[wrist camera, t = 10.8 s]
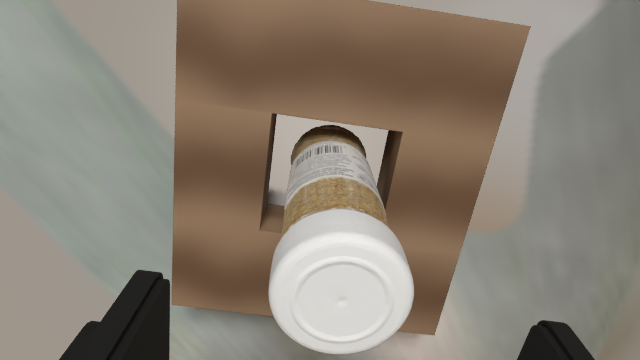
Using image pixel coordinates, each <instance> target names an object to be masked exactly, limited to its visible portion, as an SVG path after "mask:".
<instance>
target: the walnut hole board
mask: <svg viewBox="0 0 640 360" xmlns="http://www.w3.org/2000/svg"><path fill="white" fill-rule="evenodd" d="M529 30H530V26H525V25H519V24H513V23H506V22H500V21H494V20H488V19H481V18H475V17H469V16H462V15H457V14H450V13H444V12H438V11H432V10H425V9H419V8H413V7H406V6H400V5H394V4H388V3H381V2H375V1H369V0H177V43H176V97H175V98H176V99H175V151H174V205H173V259H172V305H179V306H187V307H196V308H205V309H213V310H222V311H230V312H239V313H248V314H256V315H265V316H273V314H272V311H271V308H270V303H269V294H268V292H269V280H270V272H271V265H272V260H273V255H274V252H275V249H276V247H277V245H278V243H279V242H280V240H281V234H282V227H283V218H284V211H285V210H284V208H285V206H280V205H272V204H267V198H268V189H269V180H270V170H271V162H272V152H273V143H274V133H275V125H276V116H277V114H282V115H289V116H296V117H302V118H310V119H316V120H324V121H331V122H338V123H345V124H351V125H358V126H365V127H372V128H379V129H386V130H389V131H388V136H387V141H386V145H385V150H384V155H383V159H382V164H381V169H380V174H379V178H378V183H377V189H378V192H379V195H380V198H381V200H382V203H383V206H384V209H385V212H386V219H387V223H388V225H389V227H390V230H391V231H392V232H393V233H394V234H395V235H396V237H397V239H398V240H399V242H400V244H401V246H402V248H403V250H404V253H405V256H406V259H407V262H408V265H409V268H410V271H411V274H412V278H413V283H414V298H413V303H412V308H411V310H410V312H409V315H408V317H407V318H406V320H405V322H404V323H403V325H402V326H401V327H400V328H399V329H398V330H397V331H403V332H411V333H420V334H428V335H435V332H436V328H437V325H438V322H439V319H440V315H441V312H442V309H443V306H444V303H445V299H446V296H447V293H448V290H449V287H450V283H451V280H452V277H453V274H454V271H455V267H456V264H457V261H458V258H459V255H460V251H461V248H462V245H463V242H464V238H465V235H466V232H467V229H468V226H469V222H470V219H471V216H472V213H473V209H474V206H475V203H476V200H477V197H478V193H479V190H480V187H481V184H482V181H483V178H484V174H485V171H486V168H487V164H488V161H489V158H490V155H491V152H492V149H493V145H494V142H495V139H496V136H497V133H498V129H499V126H500V123H501V120H502V117H503V113H504V110H505V107H506V104H507V101H508V97H509V94H510V91H511V88H512V85H513V81H514V78H515V75H516V72H517V68H518V65H519V62H520V59H521V56H522V52H523V49H524V46H525V43H526V40H527V36H528V33H529ZM273 317H274V316H273Z"/></svg>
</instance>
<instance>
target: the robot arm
mask: <svg viewBox="0 0 640 360" xmlns="http://www.w3.org/2000/svg"><path fill="white" fill-rule="evenodd" d="M169 327H170V282H169V280H167V279H163V275H162V273H160V272H152V271H144V270H138V271H136V272H135V274H134V275H133V276H132V278H131V279H130V281H129V282H128V283H127V285H126V286H125V288H124V289H123V291H122V292H121V293H120V295H119V296H118V298H117V299H116V300H115V302H114V303H113V305H112V306H111V308H110V309H109V310H108V312H107V313H106V315H105V316H104V317H103V319H102V321H101V322H96V321H91V322H89V323H87V324H86V325H85V326H84V327H83V328H82V330H81V331H80V332H79V334H78V335H77V336H76V338H75V339H74V340H73V342H72V343H71V344H70V346H69V347H68V349H67V350H66V351H65V352H64V354H63V355H62V356H61V358H60V359H59V360H169ZM517 360H595V359H594V358H593V357H592V355H591V354H590V353H589V352H588V350H587V349H586V348H585V346H584V345H583V344H582V342H581V341H580V340H579V338H578V337H577V336H576V334H575V333H574V332H573V331H572V329H571V328H570V327H569V326H568V325H567V324H565V323H561V322H553V321H545V320H543V321H540V322H538V324H537V325H534V326H532V328H531V329H530V331H529V334H528V336H527V338H526V340H525V343H524V345H523V347H522V350H521V352H520V354H519V356H518V359H517Z"/></svg>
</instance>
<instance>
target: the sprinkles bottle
mask: <svg viewBox="0 0 640 360" xmlns="http://www.w3.org/2000/svg"><path fill="white" fill-rule="evenodd" d="M291 165H292V166H291V172H290V177H289V183H288V188H287V195H286V201H285V208H284V210H285V211H284V218H283V227H282V234H281V240H280V242H279V243H278V245H277V247H276V249H275V252H274V255H273V260H272V265H271V272H270V280H269V292H268V294H269V303H270V308H271V311H272V314H273V316H274V318H275V320H276V322H277V323H278V325H279V326H280V328H281V329H282V330H283V331H284V332H285V333H286V334H287V335H288V336H289V337H290V338H291V339H293V340H294V341H296V342H297V343H299V344H301V345H302V346H305V347H307V348H309V349H312V350H315V351H318V352H323V353H327V354H351V353H356V352H361V351H365V350H368V349H371V348H373V347H375V346H377V345H379V344H381V343H383V342H384V341H386V340H387V339H389V338H390V337H391V336H392V335H393V334H395V333H396V332H397V330H398V329H399V328H400V327H401V326H402V325H403V323H404V322H405V320H406V318H407V317H408V315H409V312H410V310H411V308H412V303H413V298H414V283H413V278H412V274H411V271H410V268H409V265H408V262H407V259H406V256H405V253H404V250H403V248H402V246H401V244H400V242H399V240H398V239H397V237H396V235H395V234H394V233H393V232H392V231H391V230H390V227H389V225H388V223H387V219H386V212H385V209H384V206H383V203H382V200H381V198H380V195H379V192H378V189H377V186H376V183H375V181H374V178H373V175H372V172H371V169H370V167H369V164H368V162H367V160H366V153H365V149H364V147H363V145H362V143H361V141H360V140H359V138H358V137H357V136H355V135H354V134H353V133H352V132H351V131H349V130H347V129H345V128H342V127H340V126H335V125H324V126H320V127H315V128H313V129H311V130H310V131H308V132H306V133H305V134H304V135H302V137H301V138H300V139H299V140H298V142H297V143H296V144H295V146H294V149H293V152H292V155H291Z"/></svg>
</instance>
